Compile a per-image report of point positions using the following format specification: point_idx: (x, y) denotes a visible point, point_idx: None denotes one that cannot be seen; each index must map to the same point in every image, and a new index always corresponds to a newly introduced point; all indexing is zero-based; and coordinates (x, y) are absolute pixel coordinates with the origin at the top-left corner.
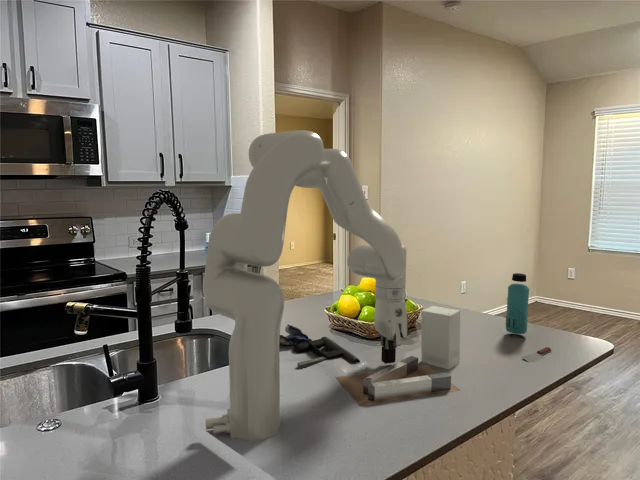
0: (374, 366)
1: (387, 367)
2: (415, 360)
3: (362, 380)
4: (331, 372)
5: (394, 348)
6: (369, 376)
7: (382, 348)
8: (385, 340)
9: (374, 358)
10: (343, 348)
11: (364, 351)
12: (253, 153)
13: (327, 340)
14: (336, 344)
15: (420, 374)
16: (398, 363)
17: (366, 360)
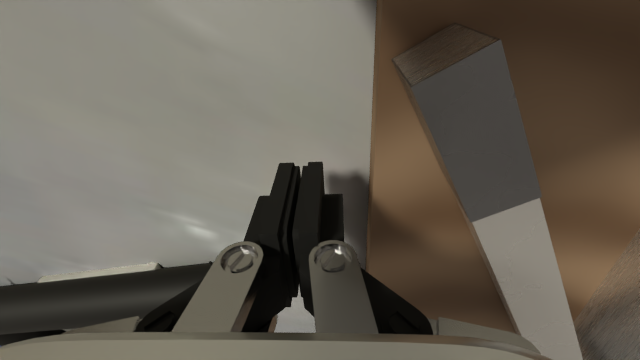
0: (240, 200)
1: (512, 308)
2: (506, 85)
3: (428, 316)
4: (277, 331)
5: (318, 236)
6: None
7: (290, 297)
8: (246, 327)
9: (127, 164)
10: (106, 312)
11: (25, 177)
12: None
13: (8, 332)
14: (59, 322)
15: (529, 42)
16: (498, 242)
17: (160, 207)
